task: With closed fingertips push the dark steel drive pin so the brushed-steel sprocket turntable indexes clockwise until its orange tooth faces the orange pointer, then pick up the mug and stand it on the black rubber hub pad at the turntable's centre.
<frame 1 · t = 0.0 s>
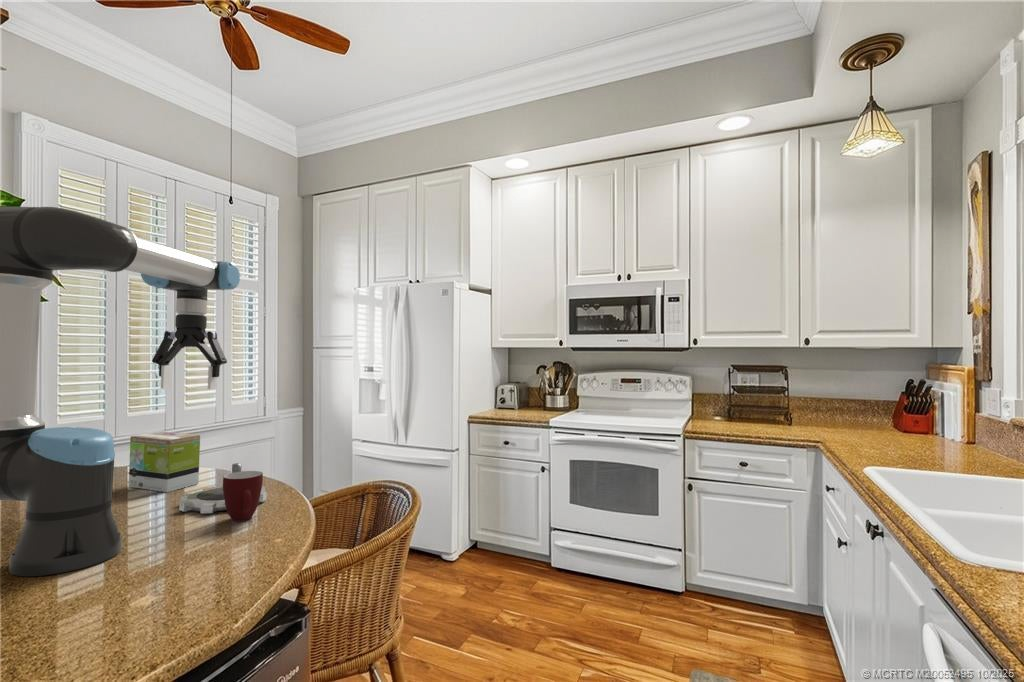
hand: (188, 388, 139), 28 cm above the table, fingers open, 13 cm apart
sprocket: (225, 485, 123), point 4 cm above the table, hinge at 0.0°
mug: (243, 520, 111), on the table
pointer: (249, 491, 135), on the table
tea box: (163, 487, 139), on the table
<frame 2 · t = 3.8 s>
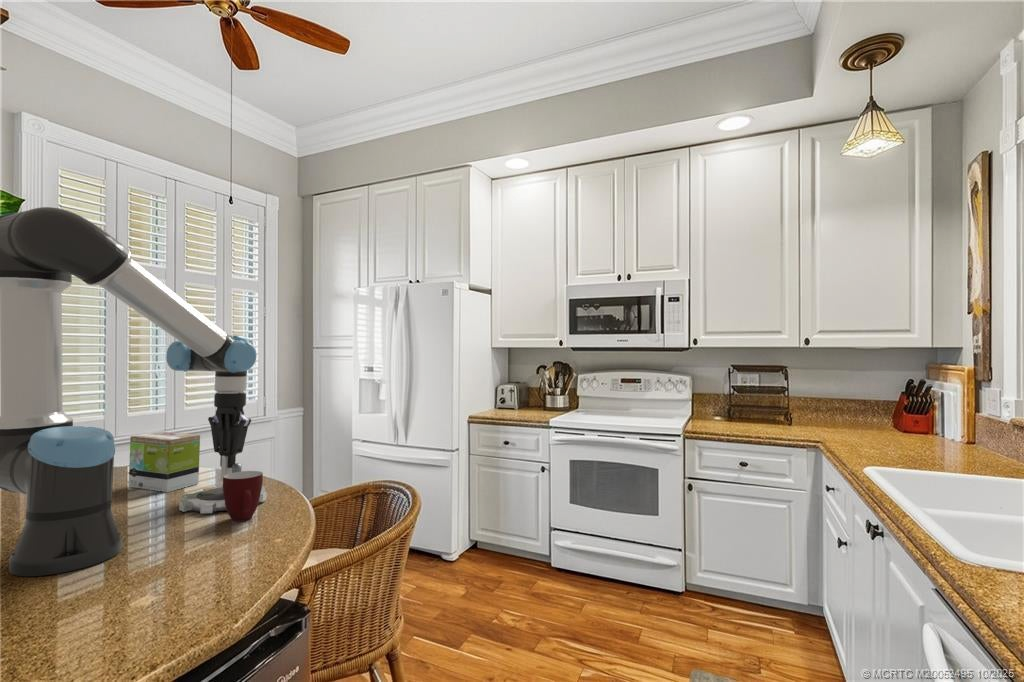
hand: (227, 479, 131), 4 cm above the table, fingers closed
sprocket: (225, 485, 123), point 4 cm above the table, hinge at -0.3°, touching gripper
everything else where it was.
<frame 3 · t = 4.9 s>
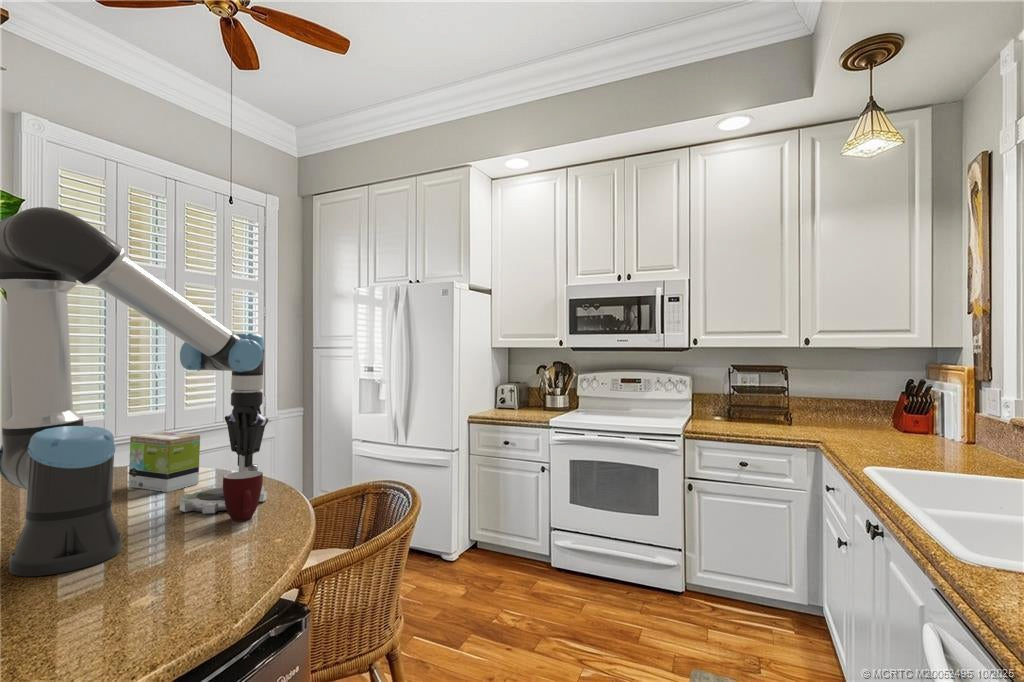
hand: (244, 478, 130), 5 cm above the table, fingers closed
sprocket: (225, 485, 123), point 4 cm above the table, hinge at -42.6°, touching gripper
everything else where it was.
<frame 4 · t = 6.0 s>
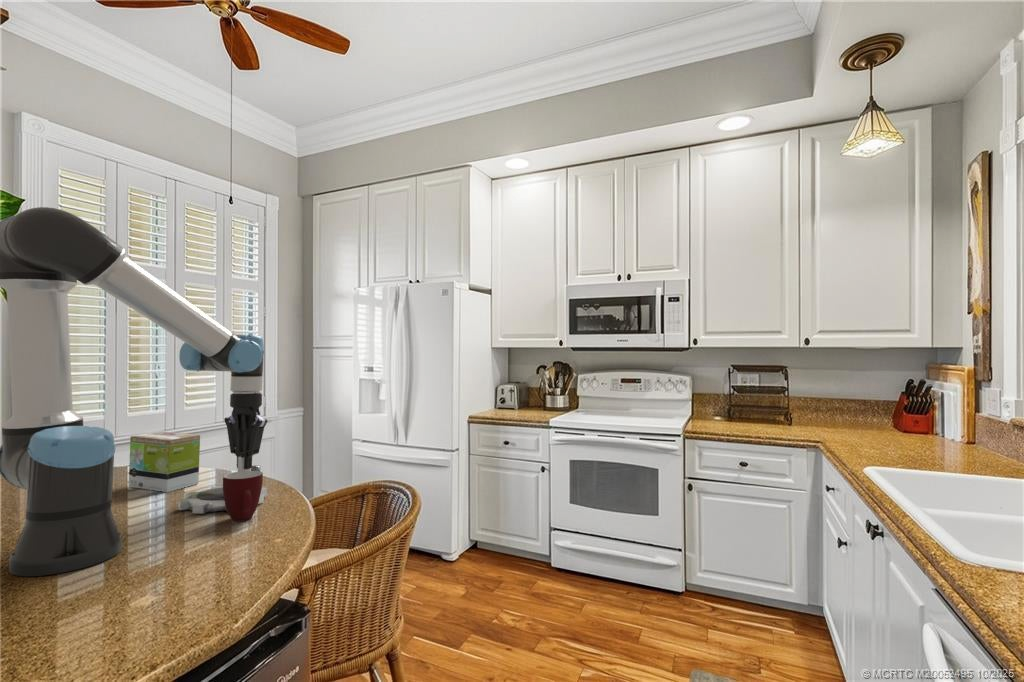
hand: (243, 480, 130), 4 cm above the table, fingers closed
sprocket: (225, 485, 123), point 4 cm above the table, hinge at -56.8°
everything else where it was.
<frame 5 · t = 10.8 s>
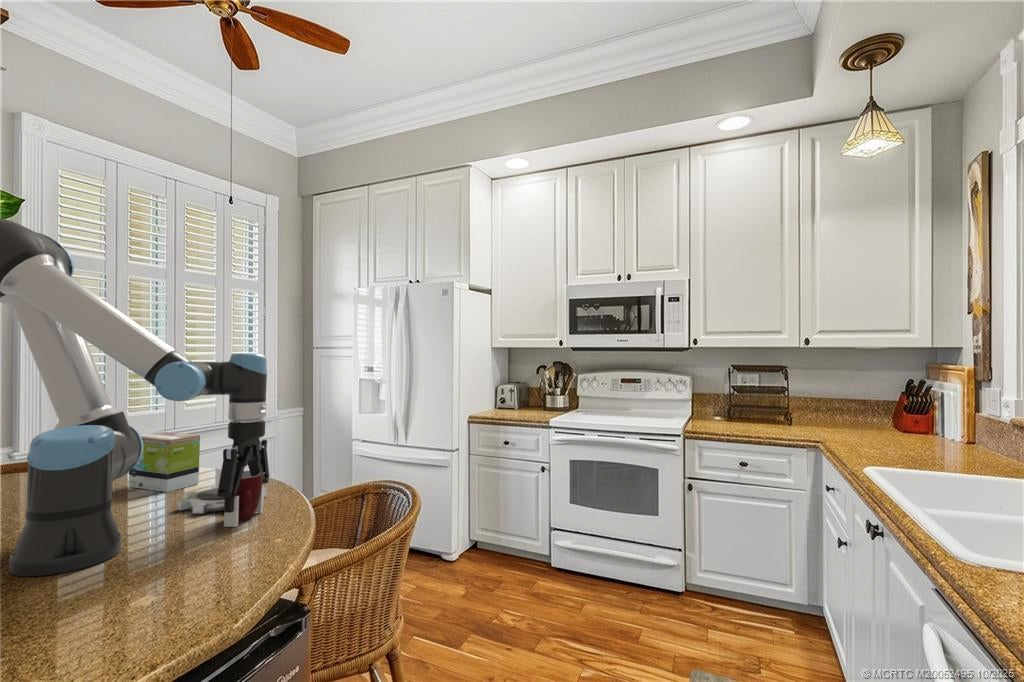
hand: (244, 518, 111), 0 cm above the table, fingers open, 9 cm apart
mug: (243, 520, 111), on the table, touching gripper
everything else where it was.
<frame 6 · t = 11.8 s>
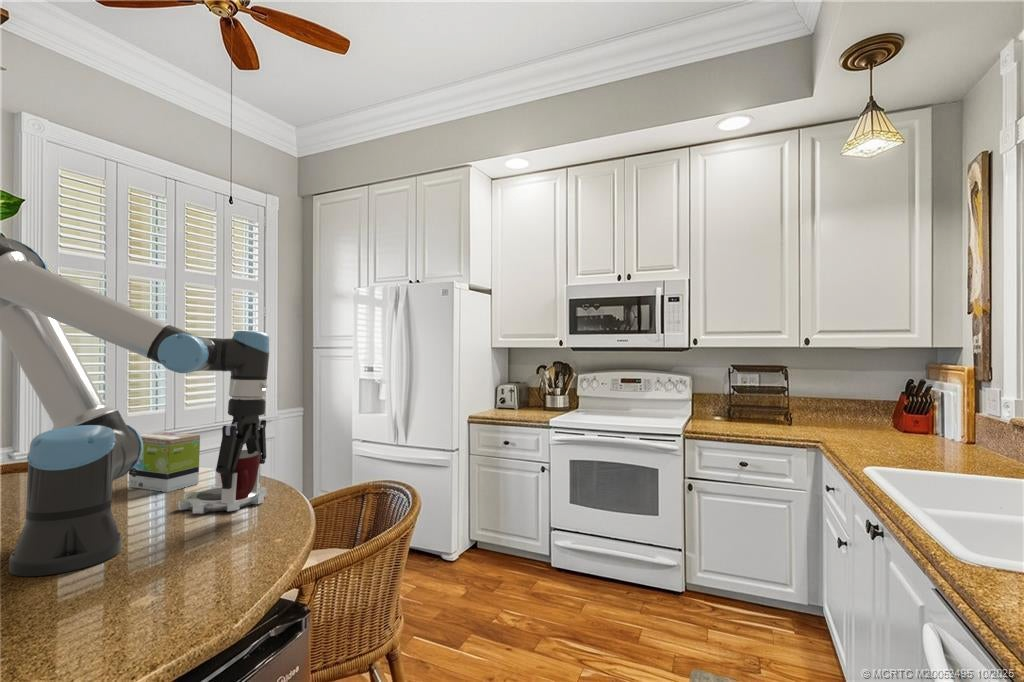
hand: (240, 497, 111), 5 cm above the table, fingers closed on mug, 8 cm apart
mug: (240, 499, 111), point 5 cm above the table, touching gripper
everything else where it was.
when the fingers open (4 cm above the table, at t = 16.1 s): mug stays where it is, resting on sprocket.
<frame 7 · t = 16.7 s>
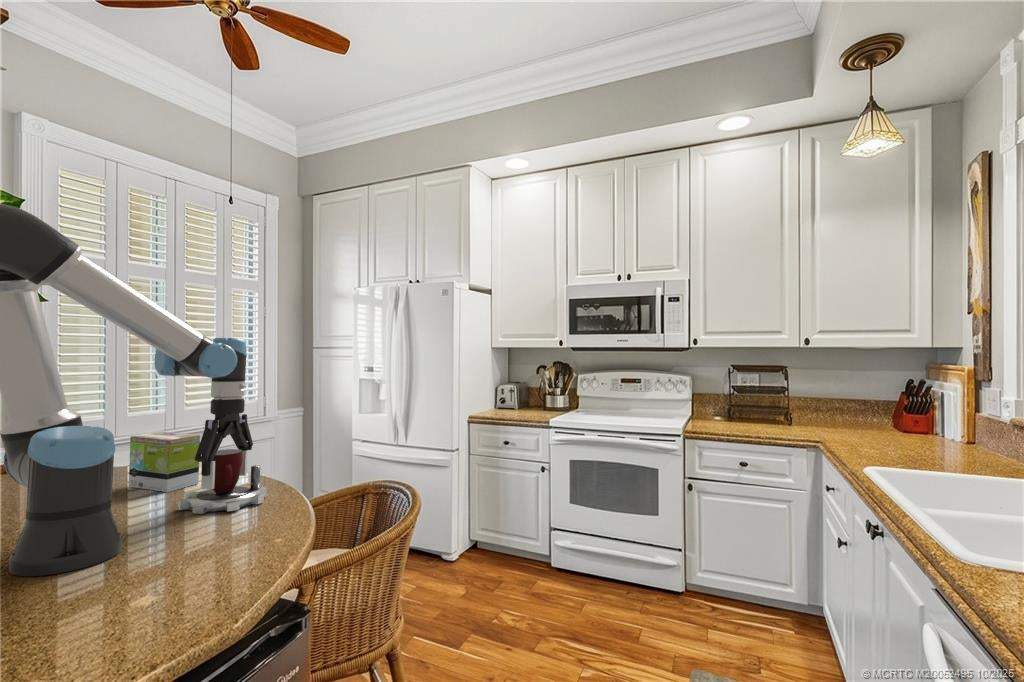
hand: (225, 481, 123), 5 cm above the table, fingers open, 13 cm apart
sprocket: (225, 485, 123), point 4 cm above the table, hinge at -56.8°, touching mug
mug: (225, 493, 124), point 3 cm above the table, touching sprocket
everything else where it was.
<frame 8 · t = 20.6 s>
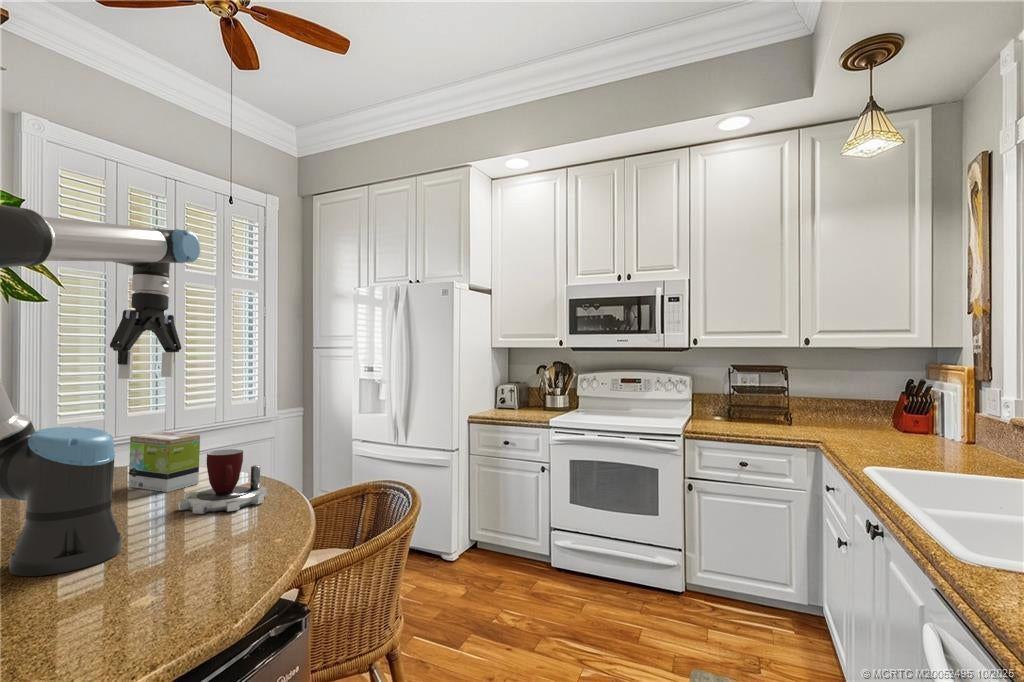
hand: (147, 377, 122), 32 cm above the table, fingers open, 13 cm apart
nothing on the table moved.
at the end: sprocket at -57° (first picture: +0°); mug 0.2 cm from the sprocket (horizontally); mug tilted 0° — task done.
